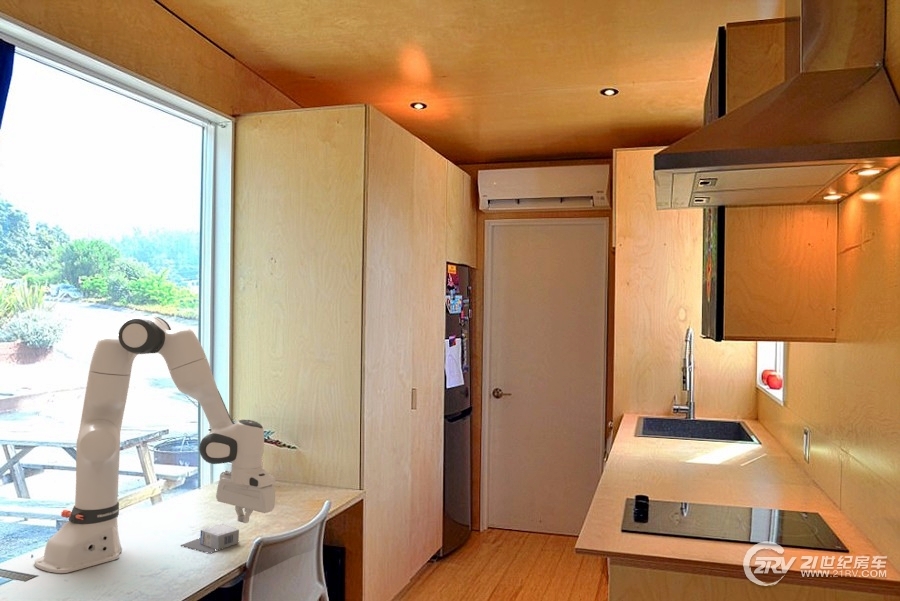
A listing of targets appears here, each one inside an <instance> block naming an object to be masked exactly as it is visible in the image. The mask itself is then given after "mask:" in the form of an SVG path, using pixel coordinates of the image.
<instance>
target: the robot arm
mask: <svg viewBox="0 0 900 601" xmlns="http://www.w3.org/2000/svg"><path fill="white" fill-rule="evenodd" d="M144 354H145V355H146V354H160V355H161V356H162V358H163V359H164V361H165V363H166V366H167V369H168V371H169V374H170V376H171V379H172V381H173V383H174V385H175V386H176V388H177V389H178V391H179V392H180V393H182V394H184V395H187V396H189V397H191V398H193V399H195V400H196V401H197V402H198V403H199V405H200V406H201V408H202V410H203V412H204V415H205V417H206V420H207V421H208V424H209V426H210V432H209V433H208V434H206V435H205V436H204V437H203V438H202V439H201V441H200V442H199V447H198V449H199V454H200V455H199V456H201V458H202V460H204V461H205V462H206V463H208V464H210V465H211V464H212V465H217V464H226V463H230V464H231V471H229V470H223V471H222V472H221V473H220V475H219V480H218V483H217V488H216V493H215V499H216V501H217V502H218V503H219V502H220V503H224V504H226V505H230V506H235V508H234V510H235V512H236V515H237V522H240V523H243V524H248V523H249V522H250V516H251V515H252V513H253V512H258V513H262V514H268V513H270V512H272V511H273V510H274V509H275V505H276V489H275V486H274V484H276V477H275V476H274V475H273V474H270V473H269V472H268V471H266V470H265V469H264V468H263V466H264V465H263V454H264V451H265V448H264V447H265V431H264V427H263V425H262V424H261V423H260V422H258V421H255V420H251V419H239V420H238V421H236V422H234V420H233V419H232V417H231V416H230V414H229V411H228V409H227V406H226V404H225V402H224V399H223V398H222V396H221V394H220V391H219V389H218V386H217V384H216V381H215V378H214V376H213V372H212V369H211V367H210V362H209V360H208V358H207V356H206V355H207V354H206V353H205V350H204V348H203V346H202V344H201V342H200V340H199V339H198V337H197V335H196V333H195V332H194V331H193V330H192V329H190V328H186V327H179V328H175V329H172V328H171V326H170V325H169V323H168V322H167V321H166V320H165V319H163V318H161V317H158V316H152V315H143V316H135V317H131V318H129V319H128V320H126V321H125V322H123V324H122V325H121V326H120V328H119V330H118V334H108V335H104V336H102V337H101V338H100V339H99V340H98V341H97V342H96V345H95V347H94V351H93V354H92V358H91V360H90V365H89V371H88V374H87V375H88V377H87V382H86V387H85V394H84V401H83V406H82V411H81V412H82V413H81V418H80V424H79V430H78V436H77V439H76V451H75V452H76V453H75V454H76V456H75V458H76V460H75V462H76V463H75V465H76V466H75V499H74V500H75V501H74V504H75V505H73V507H72V510H68V509H63V510H62V511H61V512H60V515H61V517H63V518H66V519H68V521H67V522H66V523H65V524H64V525H63V526H62V527H61V528H60V529H59V530H58V531H57V532H55V534H53V535H52V536H51V537H50V538H49V539H48V540H47V541H46V544H45V549H44V554H43V556H41V557H39V558H36V559H35V560H34V567H36V568H38V569H39V570H43V571H45V572H48V573H49V572H50V573H55V574H68V573H71V572H75V571H78V570H82V569H86V568H90V567H93V566H97V565H101V564H104V563H107V562H108V563H109V562H112V561H115V560H118V559H119V558H120V555H119V554H121V552H122V551H123V548H122V545H121V541H120V535H119V534H120V533H119V527H118V526H119V524H118V517H119V513H120V502H119V501H118V499H119V498H118V497H119V473H120V472H119V471H120V469H119V468H120V453H121V452H120V451H121V430H122V429H121V428H122V424H123V419H124V418H123V417H124V415H125V408H126V404H127V398H128V393H129V387H130V380H131V374H132V368H133V363H134V360H135V359H136V357H137V356H138V355H144ZM243 509H244V510H243Z"/></svg>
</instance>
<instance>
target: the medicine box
mask: <svg viewBox="0 0 900 601" xmlns="http://www.w3.org/2000/svg"><path fill="white" fill-rule="evenodd" d="M239 535H240V529H239V528H236V527H234V526H231V525H227V524H224V523H220V524H216V525H213V526H210V527H206V528H203V529H201V530H200V535H199V536H200V537H199V538H200V544H203V545H205V546H208V547H211V548H214V549H216V550H218V551H220V550H219V549H221V550H223V549H226V548H228V547H230V546H234V545H236V544H239V542H240V541H239V540H240V539H239V538H240V536H239ZM238 541H239V542H238ZM222 548H223V549H222Z"/></svg>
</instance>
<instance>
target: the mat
mask: <svg viewBox="0 0 900 601" xmlns="http://www.w3.org/2000/svg"><path fill="white" fill-rule="evenodd" d="M198 538H199V539H198ZM198 538H196V539H194V540H190V541H188V542H185V543H183V544H180V547H182V546H184V547H183V548H186V547H188V548H187V549H190V548H191V549H190V550H193V549H196V550H195V551H197V550H199V551H198V552H201V551H203V552H202V553H205V552H208V553H211V552H213V551H215V549H214V548H211V547H208V546H205V545H203V544H200V537H198ZM208 553H207V554H208ZM213 553H214V552H213ZM211 554H212V553H211Z"/></svg>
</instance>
